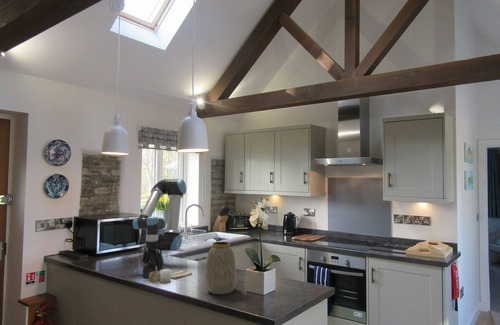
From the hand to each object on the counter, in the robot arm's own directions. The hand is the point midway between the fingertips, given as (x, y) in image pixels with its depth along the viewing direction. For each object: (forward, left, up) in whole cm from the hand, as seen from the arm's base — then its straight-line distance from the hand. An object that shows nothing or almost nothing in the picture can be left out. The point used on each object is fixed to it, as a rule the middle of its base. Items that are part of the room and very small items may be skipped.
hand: (152, 274), depth 239 cm
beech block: (+10, -6, -1) cm, 12 cm away
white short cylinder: (+17, -4, -1) cm, 17 cm away
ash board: (+13, +10, -1) cm, 16 cm away
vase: (+58, +1, -1) cm, 58 cm away
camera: (0, 0, -1) cm, 1 cm away
